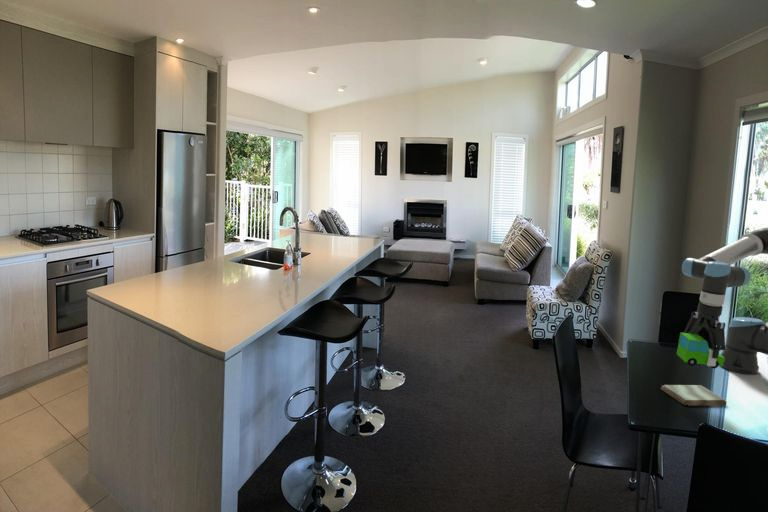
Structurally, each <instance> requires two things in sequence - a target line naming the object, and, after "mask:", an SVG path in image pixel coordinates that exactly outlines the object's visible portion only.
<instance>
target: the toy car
mask: <svg viewBox="0 0 768 512" xmlns="http://www.w3.org/2000/svg"><path fill="white" fill-rule="evenodd" d="M709 347H710V346H709V343H708V341H707V340H705V339H704V338H703V337H702V336H700V335H699V333H697V334H690V333H684V332H680V333H679V338H678V345H677V350H676V355H677V356H678V357H679V358H680V359H681V360H682V361H683V362H684V363H687V364H688V366H692V367H693V366H695V365H696V364H698V365H706V366H707V362H708V357H709V352H710V349H711V348H709ZM724 360H725V358H724V357H723V356H722V355H721V353H719V355H718V358H717V359H716V364H715V366H709V367H710V368H711V369H717V368H718V367H721V366H723V364H724Z"/></svg>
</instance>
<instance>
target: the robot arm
mask: <svg viewBox="0 0 768 512" xmlns="http://www.w3.org/2000/svg"><path fill="white" fill-rule="evenodd" d="M760 254H761V255H768V227H763V228H759V229H755V230H752V231H749V232H747V233H745V234H743V235H741V236H740V237H739V239H738V240H736V241H733V242H731V243H730V244H728V245H725V246H723V247H721V248H718V249H717V250H715V251H712V252H711V253H708V254H706V255H704V256H701V257H700V258H696V257H687V258H685V260H684V261H683V262H682V265H681V271H682V274H683V275H684V276H687V277H689V278H694V279H698V280H702V286H701V289H700V290H701V291H700V295H699V302H698V305H697V309H696V311H692V312H691V313H690V314H691V315H690V318H689V320H688V322H687V324H686V326H685V327H684V328H685V329H684V330H683V333H690V334H699V332H700V331H701V330H702V329H703V328H705V329H706V331H707V332H708V335H709V340H710V344H711V348H709V349H710V352H709V357H708V362H707V365H706V366H707V367H710V366H715V364H716V359H717V358H718V355H719V354H721V355H722V356H723V357H724V358H725V360H724V364H723V366H720V367H722V369H725V370H728V371H731V372H735V373H739V374H743V375H757V374H759V369H760V366H759V363H758V362H759V361H758V353H761V354H764V355H767V356H768V321H767V322H765V321H764V320H762V319H759V318H754V317H747V316H739V317H737V316H735V317H733V318H731V320H730V322H729V326H728V330H727V331H728V332H727V337H725V334H726V333H725V328H726V323H725V322H721V321H719V317H720V316H722V313H723V308H724V307H723V305H724V304H725V298H726V293H727V288H739V287H744V286H746V285H748V284H749V282H750V281H751V276H752V275H751V272H750V271H749V269H747V268H745V266H739V265H736V266H732V265H734V264H735V263H738V262H740V261H742V260H744V259H746V258H748V257H750V256H751V257H754V256H758V255H760ZM721 351H722V352H721ZM720 352H721V353H720Z"/></svg>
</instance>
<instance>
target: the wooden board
mask: <svg viewBox="0 0 768 512" xmlns="http://www.w3.org/2000/svg"><path fill="white" fill-rule="evenodd" d="M660 390H661V391H663V392H664V393H665V394H667V395H669V396H670V397H671V398H673V399H675V400H676V401H677V402H679V403H681V405H683V404H684V405H688V406H727V401H726V400H725V398H722V397H721V396H719V394H716V393H714V392H713V391H711V390H710V389H708V388H707V387H706V386H703V385H701V384H664V385H661V387H660ZM684 405H683V406H684Z"/></svg>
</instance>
